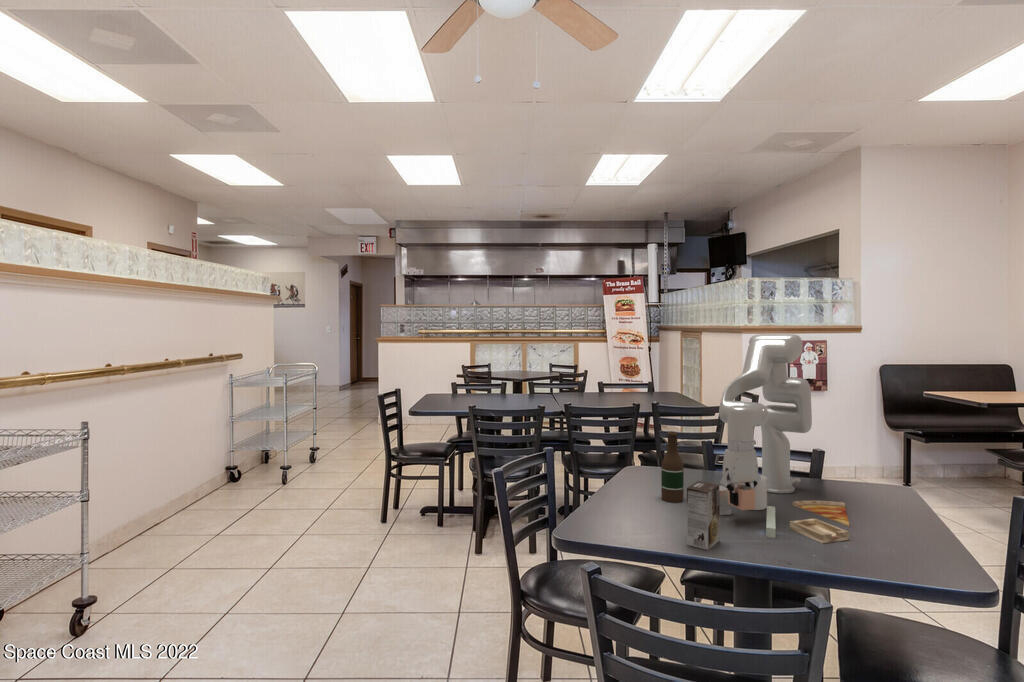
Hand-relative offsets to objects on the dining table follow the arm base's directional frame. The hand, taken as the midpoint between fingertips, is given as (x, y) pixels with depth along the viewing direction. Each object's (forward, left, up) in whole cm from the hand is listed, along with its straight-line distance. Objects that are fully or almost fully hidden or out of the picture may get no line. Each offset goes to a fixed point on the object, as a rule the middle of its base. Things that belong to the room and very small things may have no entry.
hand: (741, 502), depth 172 cm
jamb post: (+1, -10, -6) cm, 11 cm away
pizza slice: (-30, 0, -7) cm, 31 cm away
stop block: (0, 0, -1) cm, 1 cm away
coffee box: (+22, +11, -6) cm, 25 cm away
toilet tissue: (-13, -14, -6) cm, 20 cm away
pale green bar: (-6, +5, -6) cm, 10 cm away
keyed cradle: (-14, +15, -6) cm, 22 cm away
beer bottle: (+8, -27, -6) cm, 28 cm away
